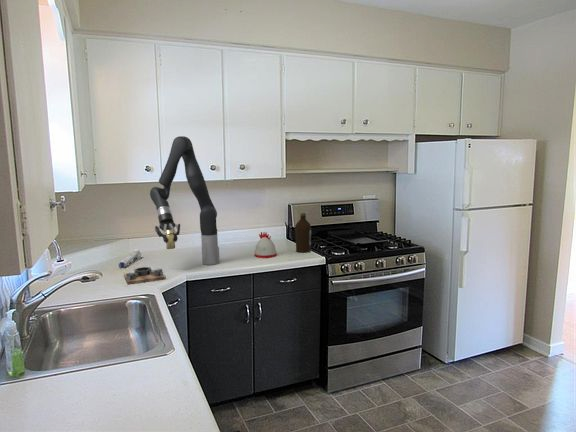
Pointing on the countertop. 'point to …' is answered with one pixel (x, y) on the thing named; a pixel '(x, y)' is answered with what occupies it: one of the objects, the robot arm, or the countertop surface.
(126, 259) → the white capped tube
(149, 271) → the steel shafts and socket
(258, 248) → the grey pompom beanie hat
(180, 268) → the countertop surface
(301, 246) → the olive oil
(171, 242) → the cylinder
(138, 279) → the walnut shaft board
